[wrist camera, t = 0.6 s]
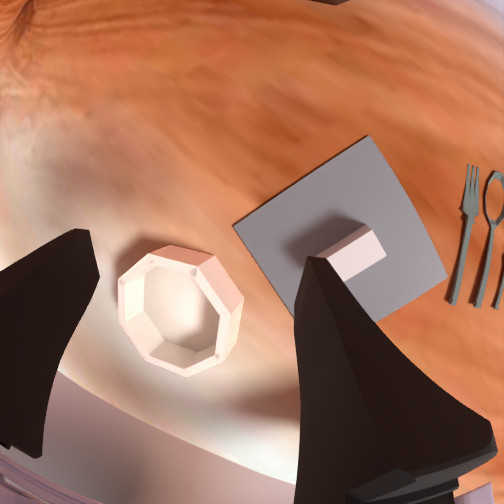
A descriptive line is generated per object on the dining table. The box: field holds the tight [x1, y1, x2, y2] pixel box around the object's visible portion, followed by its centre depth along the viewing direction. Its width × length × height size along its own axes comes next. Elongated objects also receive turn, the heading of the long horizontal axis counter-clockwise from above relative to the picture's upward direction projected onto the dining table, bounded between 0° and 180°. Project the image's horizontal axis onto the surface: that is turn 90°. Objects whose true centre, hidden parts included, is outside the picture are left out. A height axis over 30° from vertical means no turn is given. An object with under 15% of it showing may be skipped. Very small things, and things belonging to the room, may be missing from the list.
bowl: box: [118, 245, 244, 377], centre depth 31 cm, size 13×13×4 cm
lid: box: [233, 136, 448, 322], centre depth 26 cm, size 16×16×5 cm
